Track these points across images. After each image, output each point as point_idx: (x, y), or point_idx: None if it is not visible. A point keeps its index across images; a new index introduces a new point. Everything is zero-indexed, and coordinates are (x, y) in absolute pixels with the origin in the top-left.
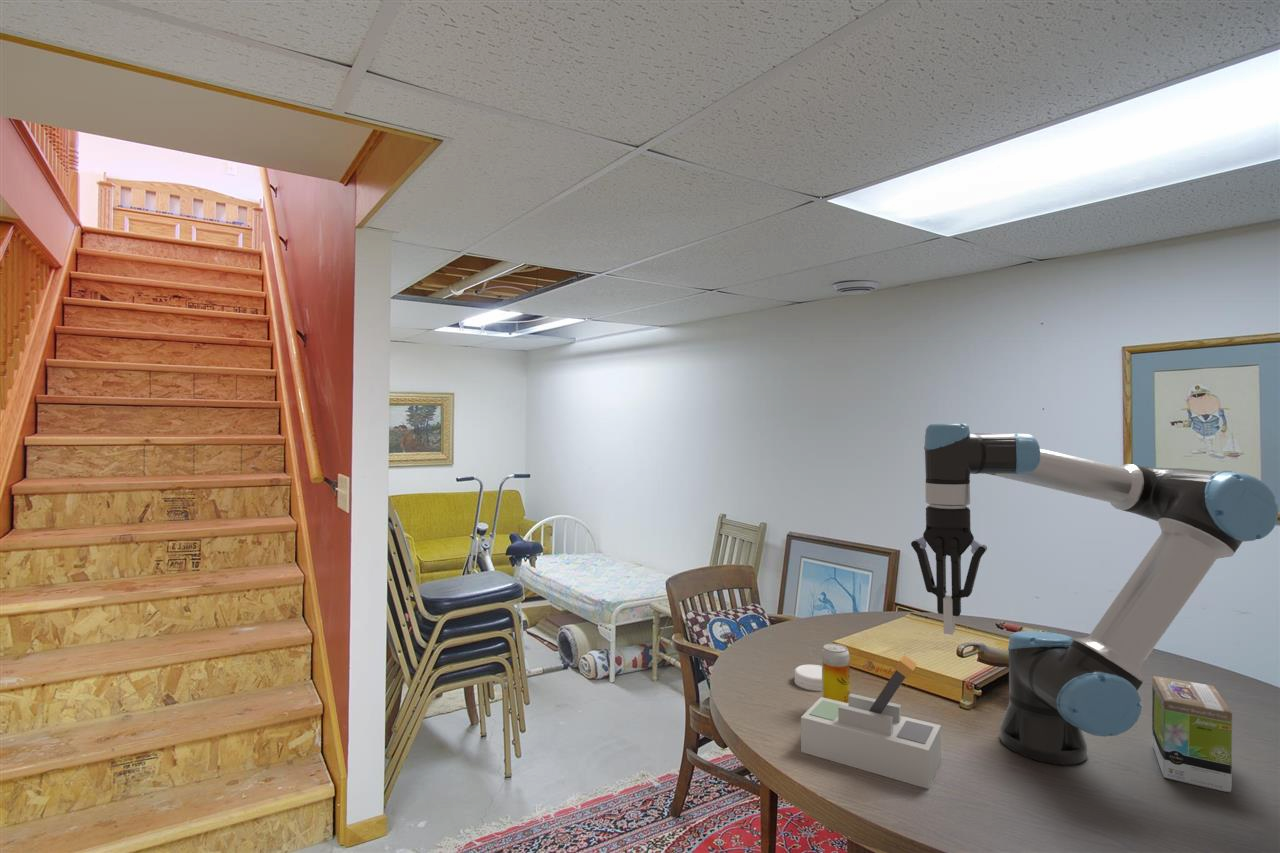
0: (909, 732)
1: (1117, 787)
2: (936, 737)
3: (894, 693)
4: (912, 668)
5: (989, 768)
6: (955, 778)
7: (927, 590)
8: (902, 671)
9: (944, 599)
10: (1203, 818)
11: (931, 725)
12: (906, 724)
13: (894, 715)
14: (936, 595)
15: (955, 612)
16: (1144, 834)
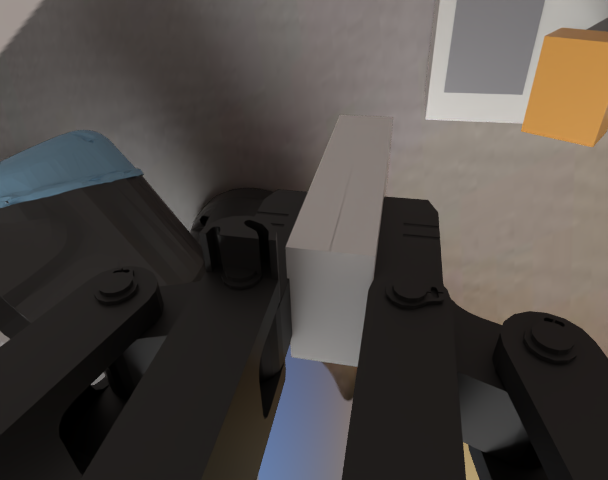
0: (512, 9)
1: (142, 158)
2: (433, 48)
3: (598, 23)
4: (547, 55)
5: (329, 113)
6: (389, 21)
7: (575, 335)
8: (594, 33)
9: (362, 247)
10: (35, 121)
11: (449, 104)
12: (522, 64)
13: None
14: (451, 304)
15: (293, 206)
16: (72, 5)
